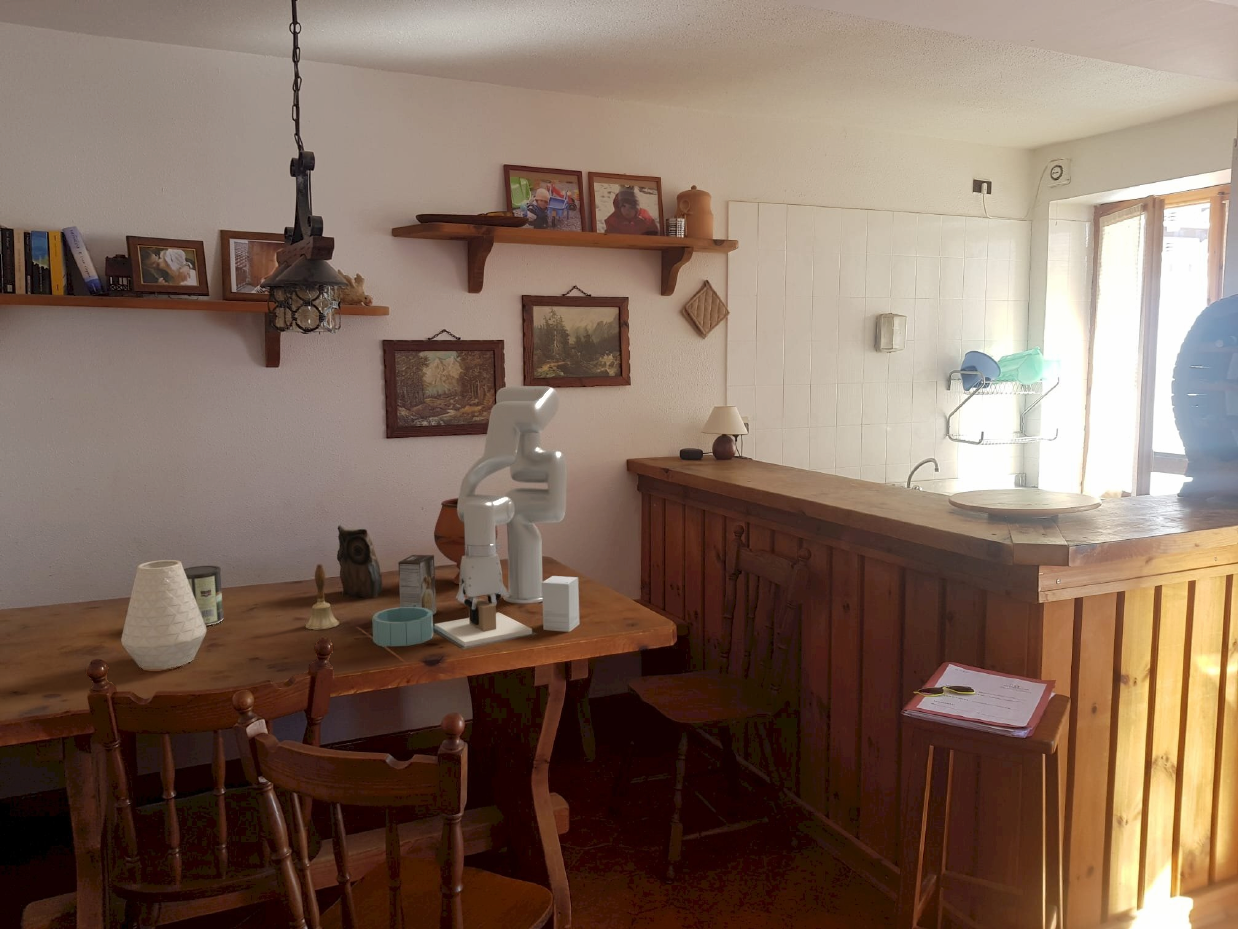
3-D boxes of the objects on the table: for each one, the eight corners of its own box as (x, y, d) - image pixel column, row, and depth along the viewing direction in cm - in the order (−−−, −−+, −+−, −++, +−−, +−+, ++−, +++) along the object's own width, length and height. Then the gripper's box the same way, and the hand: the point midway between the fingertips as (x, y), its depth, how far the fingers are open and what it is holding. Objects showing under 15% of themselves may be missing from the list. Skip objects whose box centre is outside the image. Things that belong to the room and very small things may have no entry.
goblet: (442, 592, 275) (439, 507, 271) (430, 577, 292) (427, 498, 289) (506, 585, 281) (504, 503, 278) (490, 571, 299) (488, 494, 296)
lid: (498, 616, 248) (498, 590, 247) (531, 633, 233) (531, 605, 232) (434, 628, 238) (433, 600, 237) (464, 647, 223) (464, 617, 222)
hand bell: (301, 624, 244) (298, 564, 242) (332, 619, 249) (329, 559, 247) (311, 632, 237) (308, 570, 235) (343, 626, 242) (341, 565, 240)
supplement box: (580, 625, 241) (579, 577, 239) (569, 633, 234) (568, 584, 232) (553, 622, 243) (552, 575, 242) (542, 631, 236) (541, 581, 235)
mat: (500, 616, 249) (500, 615, 249) (537, 635, 232) (537, 633, 232) (429, 629, 238) (429, 628, 238) (462, 650, 221) (462, 649, 221)
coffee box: (414, 612, 254) (412, 554, 252) (436, 613, 253) (434, 554, 251) (400, 622, 245) (397, 561, 243) (423, 623, 244) (421, 562, 242)
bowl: (419, 626, 241) (418, 604, 240) (441, 640, 229) (440, 616, 228) (366, 636, 233) (365, 612, 232) (386, 651, 221) (385, 626, 221)
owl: (376, 599, 268) (373, 529, 265) (331, 600, 267) (328, 530, 264) (384, 587, 280) (382, 521, 278) (341, 589, 279) (338, 522, 277)
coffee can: (204, 615, 253) (201, 563, 251) (232, 619, 249) (229, 567, 247) (171, 625, 244) (168, 572, 242) (200, 630, 239) (197, 576, 238)
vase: (216, 666, 212) (209, 566, 209) (130, 682, 202) (122, 577, 199) (199, 646, 226) (193, 552, 224) (118, 660, 216) (110, 562, 214)
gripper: (503, 543, 240) (505, 613, 242) (443, 551, 231) (445, 624, 233) (517, 548, 234) (519, 620, 236) (455, 557, 225) (458, 631, 227)
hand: (482, 621), depth 235 cm, fingers closed on lid, 3 cm apart
